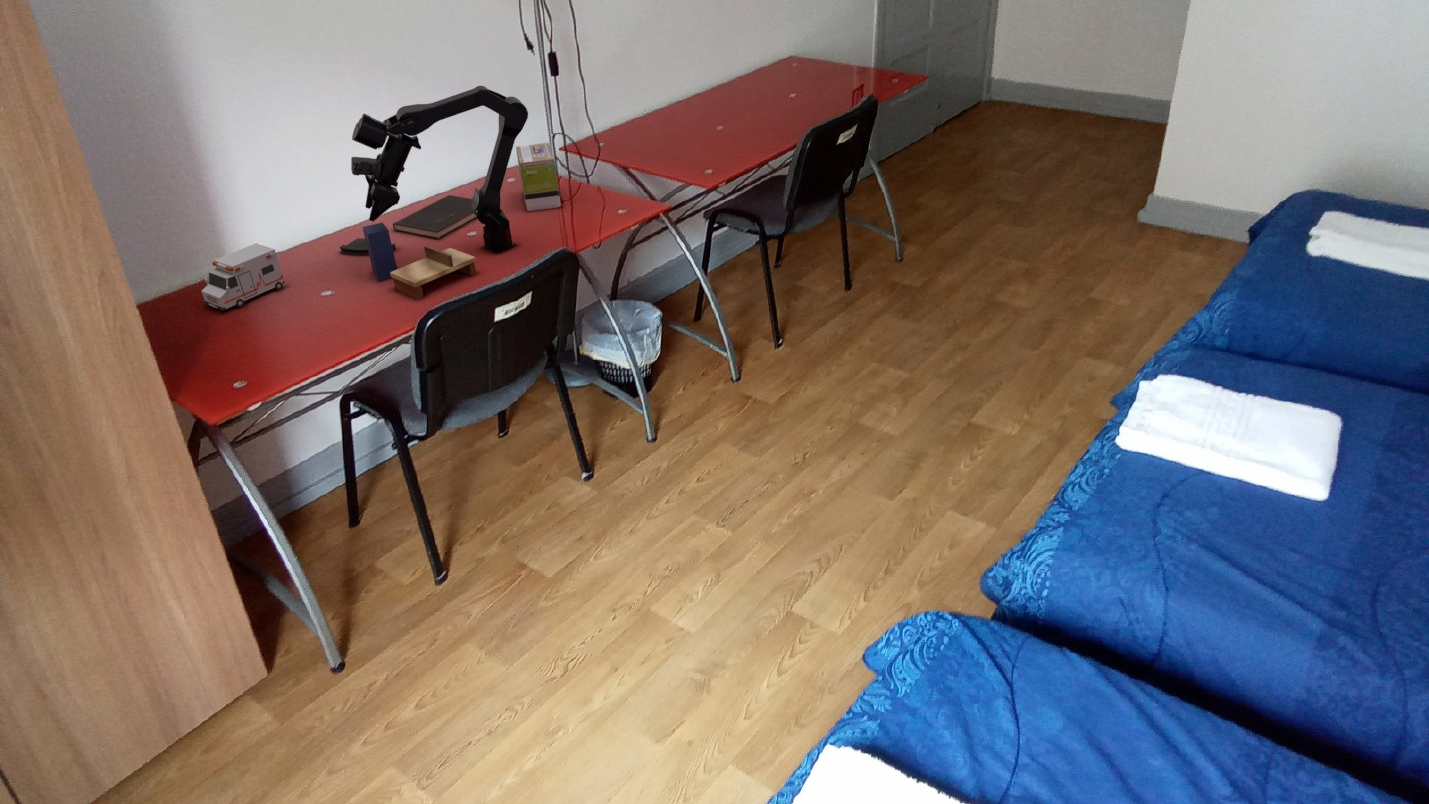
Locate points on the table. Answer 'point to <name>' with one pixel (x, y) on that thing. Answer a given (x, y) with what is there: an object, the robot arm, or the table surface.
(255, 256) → the toy vehicle
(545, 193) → the tea box
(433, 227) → the hardcover book
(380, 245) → the navy carton
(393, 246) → the fan shaped piece
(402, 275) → the wooden stand
